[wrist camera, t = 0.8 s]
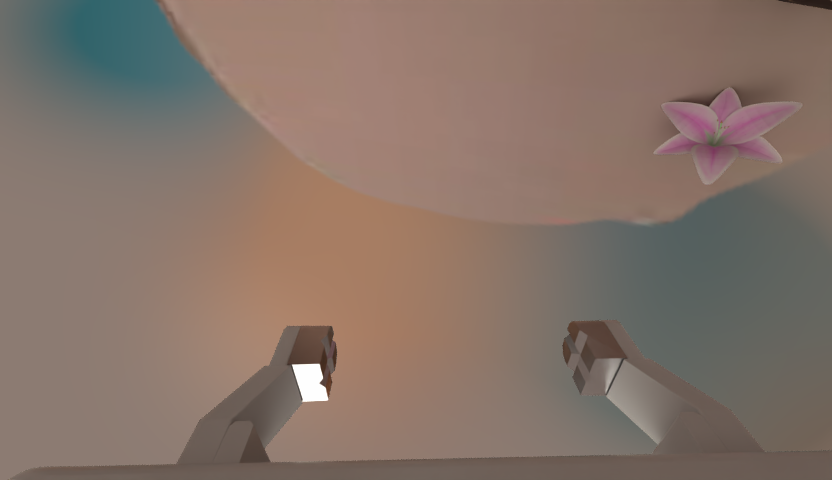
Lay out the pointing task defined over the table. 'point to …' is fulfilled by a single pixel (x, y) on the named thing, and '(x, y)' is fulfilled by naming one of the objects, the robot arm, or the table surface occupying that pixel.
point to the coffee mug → (813, 3)
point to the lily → (724, 132)
